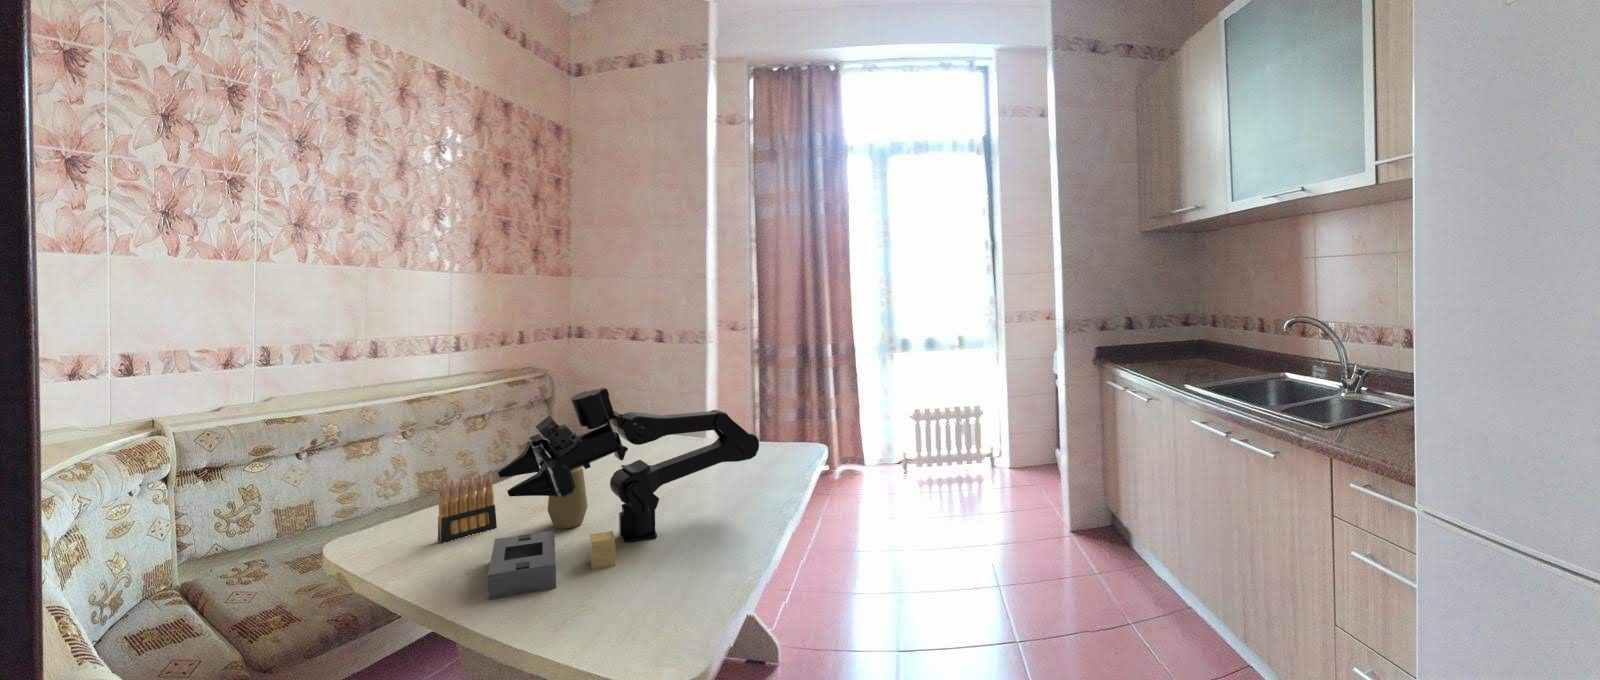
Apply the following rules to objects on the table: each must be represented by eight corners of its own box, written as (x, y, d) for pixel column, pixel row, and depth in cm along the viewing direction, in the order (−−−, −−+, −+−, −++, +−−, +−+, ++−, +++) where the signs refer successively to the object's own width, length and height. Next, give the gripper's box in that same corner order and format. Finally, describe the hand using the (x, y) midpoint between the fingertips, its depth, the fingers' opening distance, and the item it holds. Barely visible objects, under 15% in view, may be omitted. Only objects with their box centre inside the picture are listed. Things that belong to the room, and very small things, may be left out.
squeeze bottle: (596, 522, 128) (594, 440, 127) (563, 534, 121) (561, 447, 120) (572, 515, 133) (570, 435, 132) (539, 526, 126) (537, 442, 125)
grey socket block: (554, 551, 113) (553, 529, 113) (556, 587, 98) (555, 563, 98) (495, 560, 109) (494, 537, 109) (488, 599, 94) (487, 573, 94)
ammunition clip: (441, 544, 116) (439, 483, 116) (437, 541, 118) (435, 482, 117) (497, 528, 125) (495, 472, 124) (493, 526, 126) (491, 470, 125)
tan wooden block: (613, 557, 111) (612, 531, 110) (615, 565, 107) (615, 538, 107) (590, 560, 109) (589, 534, 109) (592, 569, 105) (591, 542, 105)
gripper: (562, 398, 119) (479, 429, 111) (590, 425, 105) (497, 462, 97) (578, 446, 123) (499, 479, 115) (607, 478, 108) (519, 519, 100)
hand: (503, 483), depth 107 cm, fingers open, 9 cm apart
